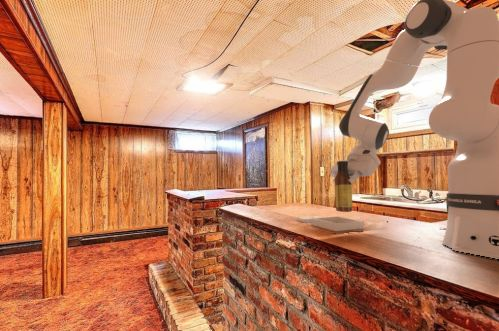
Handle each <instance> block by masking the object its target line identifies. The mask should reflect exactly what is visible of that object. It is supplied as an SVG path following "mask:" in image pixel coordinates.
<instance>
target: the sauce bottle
mask: <svg viewBox="0 0 499 331" xmlns="http://www.w3.org/2000/svg"><path fill="white" fill-rule="evenodd" d="M336 163H337V165H338V173H337V176H336V177H334V178H335V183H334V194H335V196H334V198H335V211H336V212H340V213H342V212H343V213H350V212H352V211H353V189H352V188H353V185H352V184H353V183H348V181H347V179H348V178H349V174H348V161H341V160H339V161H337V162H336Z"/></svg>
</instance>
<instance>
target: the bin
mask: <svg viewBox="0 0 499 331" xmlns="http://www.w3.org/2000/svg"><path fill="white" fill-rule="evenodd" d="M323 217H324V218H312V223H311V226H314V227H317V228H322V229H326V230H329V231H334V233H332V235H335V236H338V235H345V234H344V233H348V234H350V233H349V232H358V233H364V228H365V227H364V226H365V224H364V220H359V219H353V218H348V217H343V216H327V217H325V216H323ZM361 229H363V230H361ZM340 231H341V232H340ZM342 231H343V232H342Z"/></svg>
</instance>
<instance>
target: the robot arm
mask: <svg viewBox="0 0 499 331" xmlns="http://www.w3.org/2000/svg"><path fill="white" fill-rule="evenodd" d="M395 38H396V39H395V40H394V41H393V43H392V45H391V47H390V49H389V51H388V53H387V55H386V57H385V60H384V62H383V64H382V65H381V66H380V68H379V69H378V70H377V71H376V72H373V73H371V74H370V75H368V77H367V78H366V80H364V83H362V86H361V87H360V89H359V91H358V93H357V94H356V96H355V97H354V99H353V101H352V103H351V105H350V106H349V108H348V110H346V113H345V114H344V115H343V117H342V118H341V120H340V122H339V124H338V128H339V130H340V131H339V132H341V135H342V136H345V137H349V138H353V139H355V140H358V141H357V143H356V145H355V146H353V148H352V150H351V151H350V152H349V153H348V155H347V157H346V159H342V160H340V161H348V174H349V178H348V179H347V181H348V183H352V184H353V183H354V181H356V180H358V179H359V178H360V177H370V176H372V175H374V173H375V172H376V171H377V170H378V168H379V165H381V164H382V163H381V162H382V161H381V159H380V158H379V157H378V155H377V154H378V152H379V151H380V150H381V148H382V147H383V146H384V144H385V143H386V141H387V140H388V137H389V134H390V129H389V127H388V125H387V123H385V122H383V121H381V120H377V119H374V118H371V117H369V116H364V115H361V111H362V110H363V108H364V106H365V105H366V103H367V101H368V100H369V98H370V97H371V95H372V94H374V93H375V92H379V91H386V90H395V89H399V88H402V87H405V86H406V85H407V84H410V83H411V81H412V80H413V79H414V77H415V75H416V73H417V72H418V69H419V67H420V64H421V62H422V60H423V59H424V56H425V55H426V53H427V52H428V51H429V50H430V49H433V48H434V49H435V50H436V51H439V50H443V49H446V51H447V52H446V80H445V81H446V82H445V87H444V90H443V94H442V97H441V99H440V101H439V103H437V104H436V105H435V106H434V107H433V108H432V110H431V111H430V113H429V115H428V116H429V117H428V125H429V128H430V129H431V131H432V132H433V133H435V135H437V136H440V137H442V138H443V139H446V140H449V141H454V142H457V147H456V151H455V155H454V156H453V158H452V159H451V161H450V162H449V163H448V165H447V186H448V192H447V193H446V203H445V205H446V212H447V221H446V228H445V232H444V236H443V239H442V241H441V242H442V243H441V244H442V245H443V246H445V245H446V246H445V247H447V246H448V248H449V249H451V248H452V249H451V250H452V251H453V250H455V251H454V252H456V251H460V252H459V253H461V252H464V253H463V254H466V253H470V254H469V255H471V254H474V255H473V256H476V255H480V256H479V257H481V256H486V257H491V258H490V259H492V258H496V259H495V260H497V259H499V105H498V104H495V103H492V102H491V96H492V92H493V89H494V86H495V83H496V81H497V80H498V79H499V18H498V14H497V12H496V11H495V9H493V8H492V7H490V6H477V7H472V8H471V9H469V8H466V7H464V6H463V5H460V4H459V3H458V2H455V1H451V0H418V1H417V2H415V4H413V6H412V7H411V8H410V9H409V11H408V12H407V14H406V17H405V20H404V30H401V31H400V32H399V33H398V35H397V36H396V37H395ZM329 173H330V176H332V178H333V180H332V182H333V183H334V184H335V177H336V176H337V173H338V165H337V162H335V163H334V165H333V166H332V167H331V168H330V169H329ZM486 257H485V258H486Z"/></svg>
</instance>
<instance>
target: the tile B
mask: <svg viewBox="0 0 499 331" xmlns="http://www.w3.org/2000/svg"><path fill="white" fill-rule="evenodd" d="M311 217H312V216H298V217H296V219H297V220H298V221H297V222H300V221H301V222H300V223H303V222H312V218H311Z"/></svg>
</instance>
